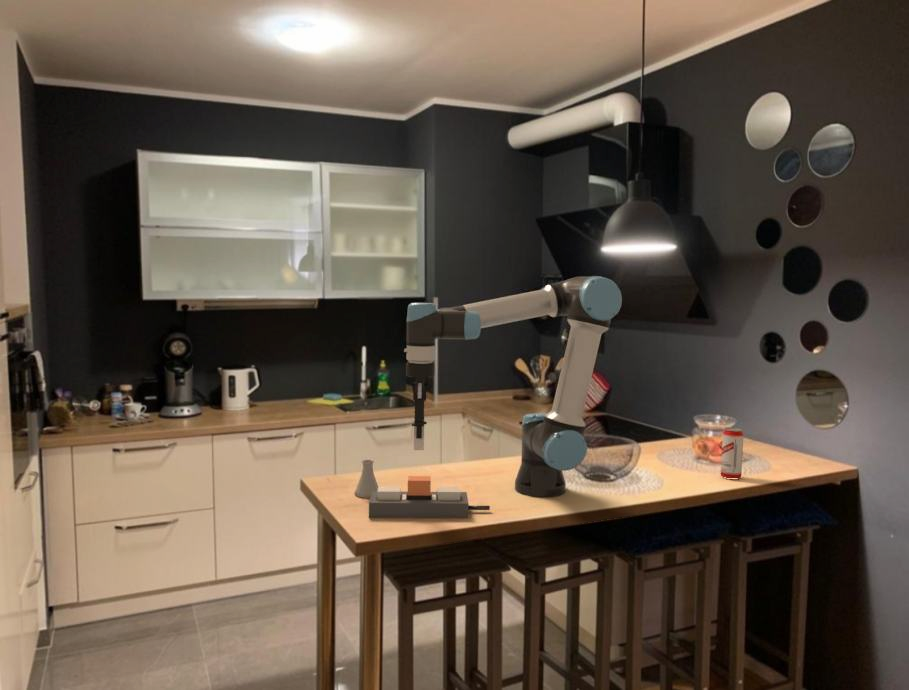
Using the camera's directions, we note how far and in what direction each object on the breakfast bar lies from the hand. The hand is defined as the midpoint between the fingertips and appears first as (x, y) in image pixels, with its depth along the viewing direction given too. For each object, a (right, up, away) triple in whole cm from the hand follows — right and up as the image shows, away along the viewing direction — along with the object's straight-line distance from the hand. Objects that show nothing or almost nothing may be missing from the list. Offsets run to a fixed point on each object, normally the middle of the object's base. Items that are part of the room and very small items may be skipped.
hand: (418, 449), depth 190 cm
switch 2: (0, -12, +1) cm, 12 cm away
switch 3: (+8, -15, +2) cm, 17 cm away
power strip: (+3, -17, +2) cm, 17 cm away
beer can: (+99, -15, +40) cm, 108 cm away
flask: (-16, -16, +16) cm, 27 cm away
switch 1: (-8, -15, +1) cm, 17 cm away
